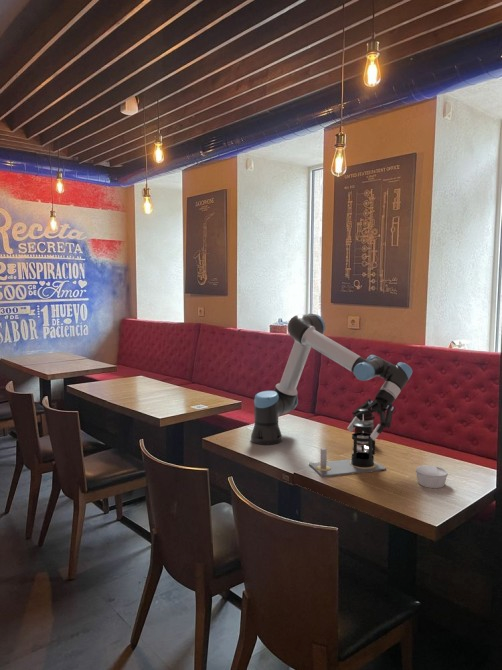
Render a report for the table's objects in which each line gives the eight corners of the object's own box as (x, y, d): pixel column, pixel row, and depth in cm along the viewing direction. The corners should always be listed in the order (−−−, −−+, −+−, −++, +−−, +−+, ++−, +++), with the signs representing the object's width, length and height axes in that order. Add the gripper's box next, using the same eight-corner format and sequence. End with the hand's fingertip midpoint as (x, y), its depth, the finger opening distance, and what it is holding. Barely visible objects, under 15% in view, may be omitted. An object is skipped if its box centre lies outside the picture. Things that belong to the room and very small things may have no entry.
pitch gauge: (308, 465, 206) (309, 444, 205) (369, 458, 213) (369, 439, 212) (322, 477, 192) (322, 455, 191) (386, 470, 199) (386, 449, 199)
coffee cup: (358, 437, 243) (358, 408, 242) (377, 441, 238) (377, 410, 236) (349, 443, 235) (350, 412, 234) (369, 446, 230) (370, 415, 228)
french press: (361, 469, 198) (362, 413, 195) (345, 462, 205) (345, 408, 203) (381, 463, 204) (382, 409, 202) (365, 457, 212) (366, 405, 210)
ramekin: (453, 487, 182) (454, 474, 181) (427, 491, 179) (428, 477, 178) (434, 476, 192) (434, 463, 192) (409, 480, 189) (409, 466, 189)
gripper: (414, 405, 199) (387, 447, 193) (371, 394, 221) (345, 432, 215) (405, 394, 196) (377, 436, 190) (362, 384, 218) (335, 422, 211)
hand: (360, 434), depth 202 cm, fingers open, 13 cm apart
